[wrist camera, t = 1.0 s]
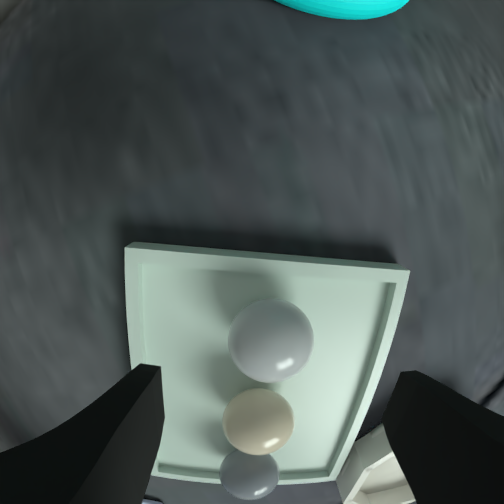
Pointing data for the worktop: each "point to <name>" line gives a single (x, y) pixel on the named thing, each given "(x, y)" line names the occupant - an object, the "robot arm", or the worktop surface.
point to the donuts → (346, 7)
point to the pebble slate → (249, 475)
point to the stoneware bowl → (373, 473)
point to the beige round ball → (258, 421)
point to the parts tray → (224, 369)
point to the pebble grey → (270, 340)
